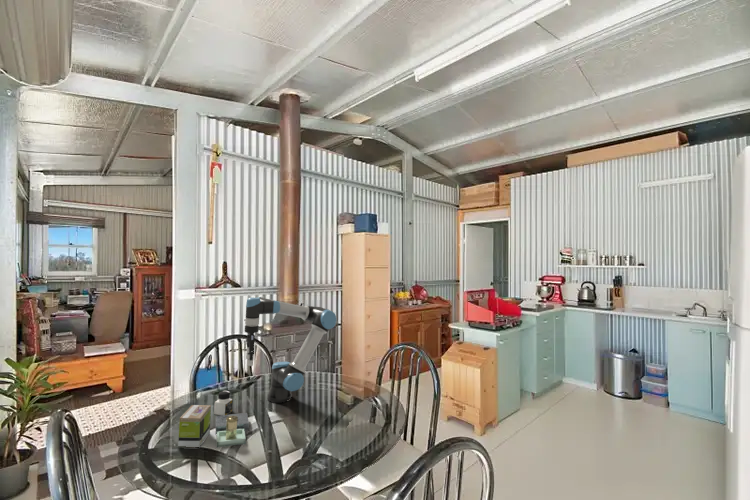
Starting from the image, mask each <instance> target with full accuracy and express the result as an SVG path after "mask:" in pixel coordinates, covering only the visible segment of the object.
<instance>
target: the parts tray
mask: <svg viewBox="0 0 750 500" xmlns="http://www.w3.org/2000/svg"><path fill="white" fill-rule="evenodd" d="M225 438H226V431H218V432H217V435H216V448H223V447H230V446H239V445H246V431H244V428H243V429H237V432H236V439H232V440H226V439H225Z"/></svg>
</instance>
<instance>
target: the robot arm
mask: <svg viewBox="0 0 750 500" xmlns="http://www.w3.org/2000/svg"><path fill="white" fill-rule="evenodd" d="M266 314H267V315H269V314H270V315H273V314H279V315H284V316H290V317H293V318H294V317H296V318H301V319H302V320H303V321H308V322H309V323H310V322H311V329H310V330H309V333H308V334H307V336H306V337H305V340H304V341H303V343H302V345H301V347H300V349H299V350H298V352H297V354H296V356H295V357H294V359H293V361H291V362H289V361H276V362H273V364H272V367H271V381H270V383H271V384H270V388H269V390H268V393H267V396H266V397H267V398H266V399H267V401H268V400H269V401H268V402H270V401H271V402H270V403H273V404H282V402H283V403H286V402H285V401H287V400H289V399H291V400H292V398H291V397H293V396H292V395H293V394H292V392H296V391H298V390H300V389H301V388H302V387H303V385H304V382H305V378H304V376H305V374H306V370H305V369H306V367H307V365H308V363H309V362H310V360H311V358H312V356H313V354H314V352H315V351H316V349H317V347H318V345H319V344H320V342H321V340H322V338H323V336H324V335H326V334H327V333H328V332H329V330H331V329H333V328H334V327H335V326H336V324H337V320H338V319H337V315H336V313H335V311H332V310H331V309H329V308H328V309H327V308H323V307H321V306H311V305H298V304H294V303H289V302H283V301H278V300H274V299H269V298H264V297H262V296H258V297H248V298H247V299H246V304H245V319H244V322H245V323H244V324H245V325H244V333H247V336H246V337H247V338H246V353H245V359H246V360H247V366H248V367H253V366H254V357H255V343H256V342H255V341H256V339H255V338H256V335H255V334H256V333H259V328H260V327H259V324H260V315H266ZM289 401H290V400H289ZM287 402H288V401H287Z"/></svg>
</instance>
